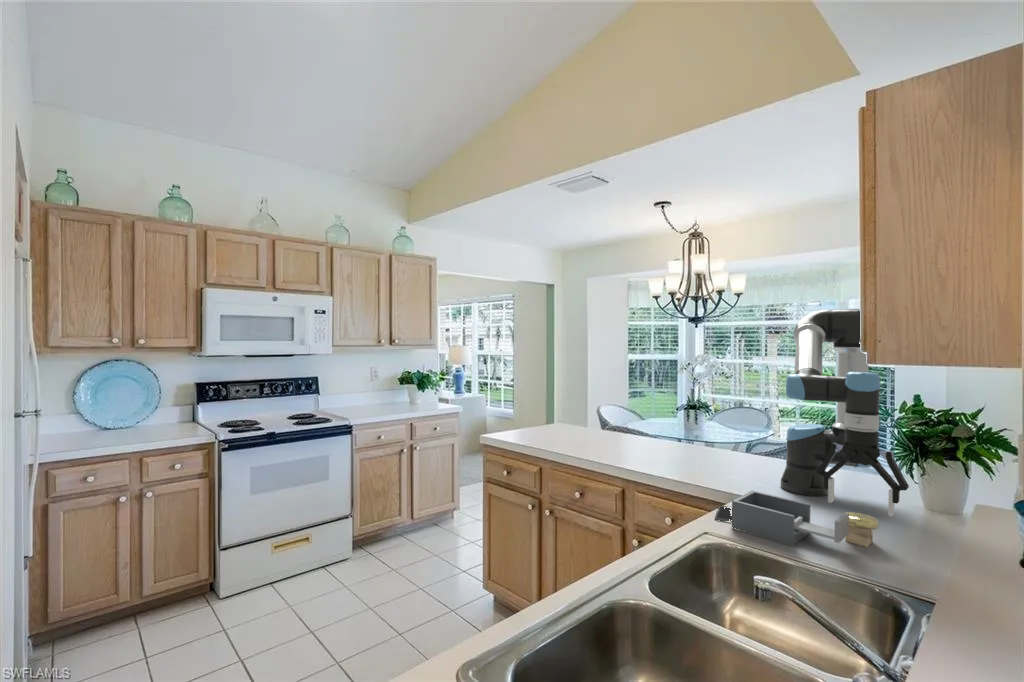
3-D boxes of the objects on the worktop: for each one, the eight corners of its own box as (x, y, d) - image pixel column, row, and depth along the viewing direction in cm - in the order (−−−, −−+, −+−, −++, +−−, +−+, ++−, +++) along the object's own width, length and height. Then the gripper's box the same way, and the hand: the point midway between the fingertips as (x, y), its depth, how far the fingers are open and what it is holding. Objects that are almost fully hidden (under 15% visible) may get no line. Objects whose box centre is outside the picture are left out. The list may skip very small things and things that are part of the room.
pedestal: (850, 536, 138) (851, 518, 138) (872, 541, 134) (872, 523, 134) (845, 541, 134) (846, 523, 134) (867, 547, 131) (868, 528, 131)
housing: (751, 516, 152) (752, 490, 152) (809, 532, 140) (810, 504, 140) (731, 528, 143) (732, 500, 143) (792, 546, 131) (792, 516, 131)
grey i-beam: (791, 518, 142) (791, 500, 142) (848, 533, 131) (849, 513, 131) (779, 527, 136) (779, 507, 135) (838, 543, 125) (839, 522, 125)
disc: (846, 515, 140) (846, 510, 140) (881, 523, 134) (881, 518, 134) (838, 522, 134) (838, 517, 134) (873, 531, 129) (873, 525, 129)
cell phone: (714, 521, 149) (714, 518, 149) (719, 507, 161) (719, 504, 161) (741, 526, 145) (741, 523, 145) (744, 511, 158) (744, 509, 158)
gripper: (805, 424, 140) (803, 499, 140) (918, 438, 122) (916, 524, 122) (814, 421, 145) (812, 493, 146) (923, 434, 127) (921, 517, 127)
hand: (859, 508), depth 134 cm, fingers open, 13 cm apart
